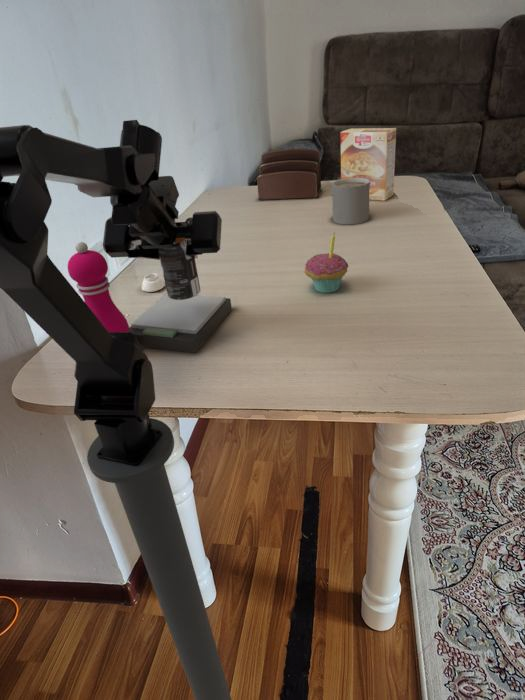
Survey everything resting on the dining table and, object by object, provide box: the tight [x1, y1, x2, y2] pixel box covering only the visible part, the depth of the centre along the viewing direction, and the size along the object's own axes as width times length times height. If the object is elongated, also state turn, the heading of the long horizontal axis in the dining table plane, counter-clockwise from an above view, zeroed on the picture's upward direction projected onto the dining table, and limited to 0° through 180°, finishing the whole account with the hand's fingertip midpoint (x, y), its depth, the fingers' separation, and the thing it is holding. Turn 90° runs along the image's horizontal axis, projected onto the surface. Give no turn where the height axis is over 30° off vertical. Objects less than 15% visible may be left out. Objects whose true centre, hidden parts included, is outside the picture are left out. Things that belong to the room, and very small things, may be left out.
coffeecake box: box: [340, 127, 397, 202], centre depth 147 cm, size 15×7×20 cm, turn 55°
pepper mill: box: [67, 241, 130, 332], centre depth 79 cm, size 7×7×20 cm
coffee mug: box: [331, 178, 370, 225], centre depth 134 cm, size 13×10×10 cm
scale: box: [129, 292, 233, 354], centre depth 90 cm, size 16×14×3 cm
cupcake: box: [304, 231, 349, 294], centre depth 95 cm, size 9×8×12 cm
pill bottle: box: [159, 238, 201, 300], centre depth 84 cm, size 6×6×11 cm
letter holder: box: [256, 147, 322, 201], centre depth 159 cm, size 10×20×14 cm, turn 77°
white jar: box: [141, 273, 166, 293], centre depth 106 cm, size 5×3×5 cm
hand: (179, 256), depth 84 cm, fingers closed on pill bottle, 6 cm apart
